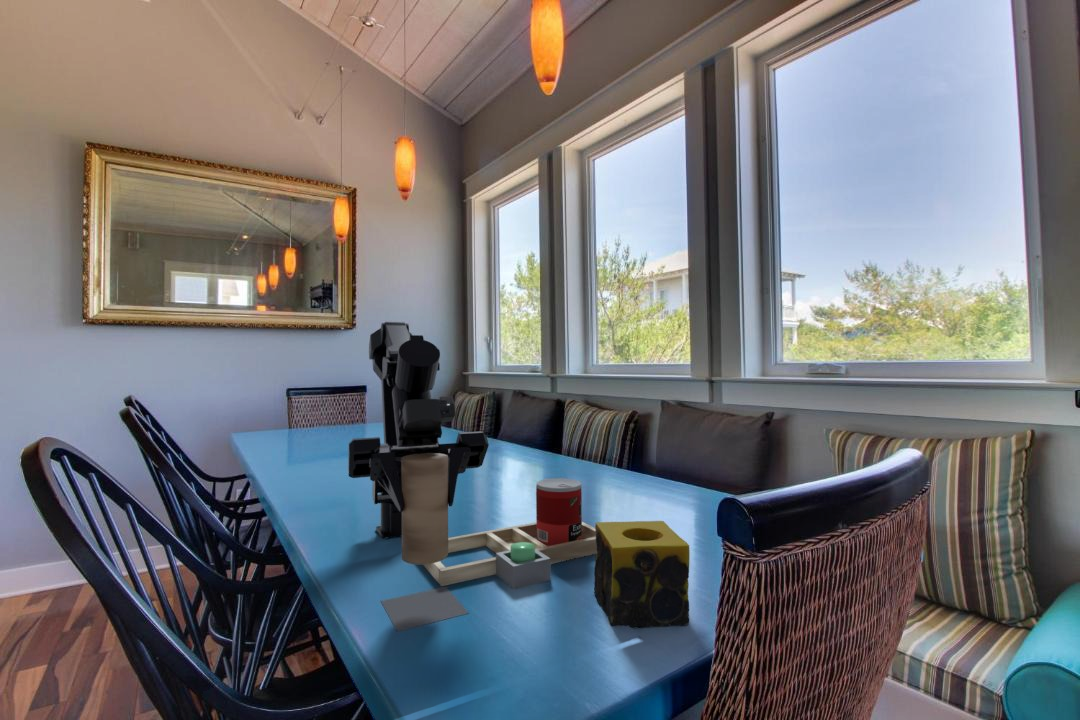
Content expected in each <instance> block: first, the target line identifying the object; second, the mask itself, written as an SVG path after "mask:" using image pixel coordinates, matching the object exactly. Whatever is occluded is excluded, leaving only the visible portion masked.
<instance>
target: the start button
mask: <svg viewBox="0 0 1080 720" xmlns="http://www.w3.org/2000/svg"><path fill="white" fill-rule="evenodd" d="M511 560H512V561H513V562H515V563H516V564H517V563H521V562H526V561H531V560H535V545H534V544H532V543H528V542H519V543H514V544H512V545H511Z"/></svg>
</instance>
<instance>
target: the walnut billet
mask: <svg viewBox="0 0 1080 720" xmlns="http://www.w3.org/2000/svg"><path fill="white" fill-rule="evenodd" d="M401 478H402V496H403V507H404V508H403V512H402V536H401V560H402V561H403V562H404V563H406V564H410V565H418V566H419V565H423V564H431V563H436V562H439V561H440V562H441V561H444V560H445V559H446V558H447V557H448V556H449V553H448V538H449V504H448V456H447V455H445V454H440V453H420V454H411V455H407V456H404V457H402V458H401Z"/></svg>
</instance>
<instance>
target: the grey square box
mask: <svg viewBox="0 0 1080 720" xmlns="http://www.w3.org/2000/svg"><path fill="white" fill-rule="evenodd" d="M495 557H496V574H495V575H496V576H497V577H498V578H500V579H501V580H503V582H505V583H506V584H507V585H508V586H510V588H512V589H513V590H516V589H521V588H524V587H528V586H532V585H536V584H541V583H544V582H549V581H551V579H552V577H551V576H552V575H551V573H552V572H551V571H552V569H551V565H552V564H551V559H550V558H549V557H547V556H546V555H544V554H543V553H541V552H540V551H538V550H537V549H535V560H531V561H526V562H521V563H517V564H516V563H515V562H513V561H512V560H511V550H509V551H504V552H499V553H495Z"/></svg>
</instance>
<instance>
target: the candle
mask: <svg viewBox="0 0 1080 720" xmlns="http://www.w3.org/2000/svg"><path fill="white" fill-rule="evenodd" d="M594 528H595V531H596V545H597V554H595V555H596V556H595V564H594V567H593V568H594V571H593V572H594V576H593V577H594V582H593V584H594V587H593V589H594V590H593V591H594V592H593V593H594V595H595V598H596V601H597V603H598V604H599V607H600V608H602V611H604V613H605V614H606V616H607V618H608V623H609V625H610V626H611V627H624V626H625V627H630V628H631V629H632V628H633V629H634V628H643V629H644V628H657V627H669V626H688V625H689V623H690V613H689V612H690V600H689V578H690V576H689V575H690V574H689V573H690V544H689V543H688V542H687V541H686V540H684V539H683V538H682V537H681V536H679V535H678V534H677V532H675V531H674V530H673V529H672V528H671V527H670V526H669V525H668V524H667V522H665V521H663V520H649V521H647V520H645V521H643V520H640V521H639V520H637V521H602V522H601V521H600V522H599V521H598V522H595V525H594Z"/></svg>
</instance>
